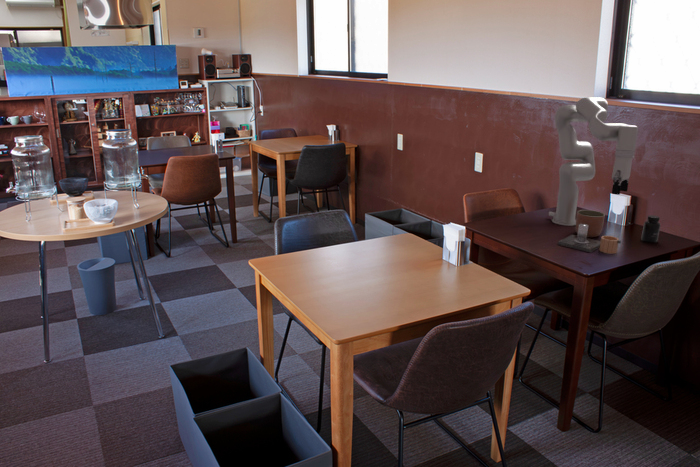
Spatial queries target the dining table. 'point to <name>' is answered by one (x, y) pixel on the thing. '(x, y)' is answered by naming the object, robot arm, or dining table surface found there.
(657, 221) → the supplement bottle
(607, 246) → the wooden mug
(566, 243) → the cylinder on square base
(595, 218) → the planter
